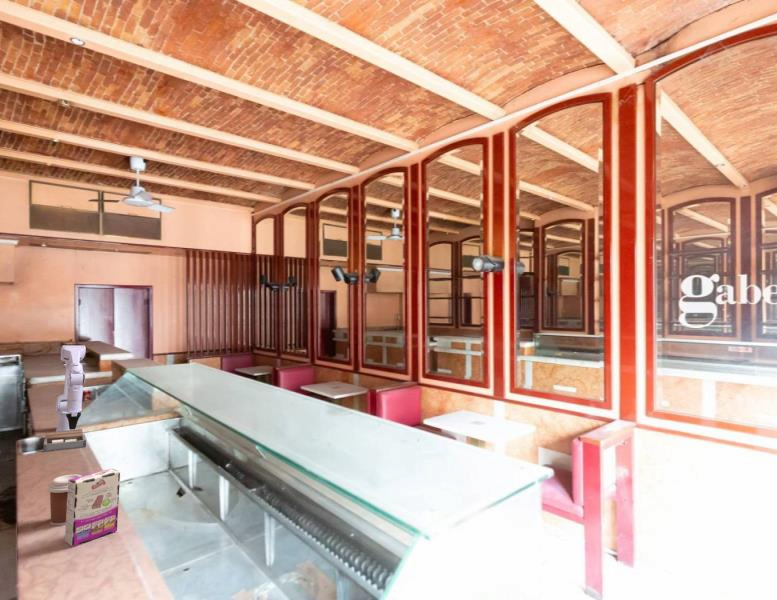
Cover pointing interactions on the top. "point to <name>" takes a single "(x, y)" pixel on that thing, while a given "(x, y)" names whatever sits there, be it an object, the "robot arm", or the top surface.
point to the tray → (64, 445)
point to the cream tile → (57, 441)
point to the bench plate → (64, 435)
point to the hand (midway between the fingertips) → (72, 429)
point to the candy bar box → (92, 506)
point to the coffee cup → (59, 499)
